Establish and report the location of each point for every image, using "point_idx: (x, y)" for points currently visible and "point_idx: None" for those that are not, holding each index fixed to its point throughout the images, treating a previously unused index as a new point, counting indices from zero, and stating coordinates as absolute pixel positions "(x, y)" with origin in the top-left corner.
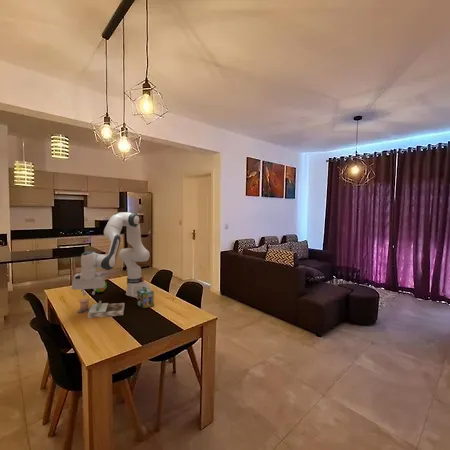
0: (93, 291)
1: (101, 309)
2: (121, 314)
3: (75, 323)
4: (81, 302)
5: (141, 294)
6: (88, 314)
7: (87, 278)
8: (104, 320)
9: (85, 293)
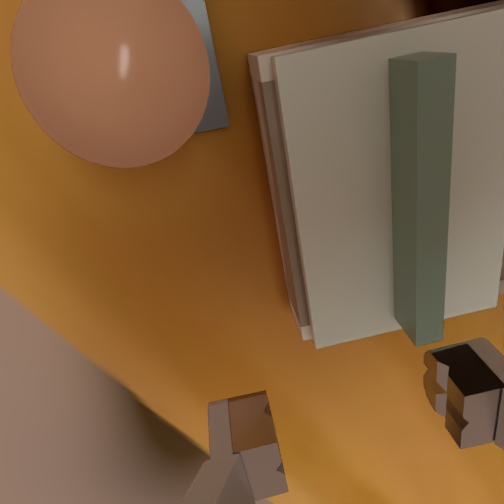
0: (496, 388)
1: (448, 267)
2: None
3: (213, 382)
4: (105, 161)
5: None
6: (309, 334)
7: None
8: (447, 322)
9: (267, 418)
